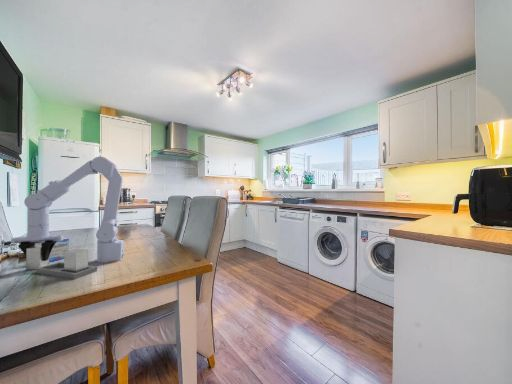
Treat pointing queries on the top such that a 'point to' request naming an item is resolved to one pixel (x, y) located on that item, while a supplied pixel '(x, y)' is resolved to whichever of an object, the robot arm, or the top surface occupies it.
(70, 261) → the billet
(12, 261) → the top surface
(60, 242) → the medicine box
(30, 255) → the block
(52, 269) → the grey flat frame
